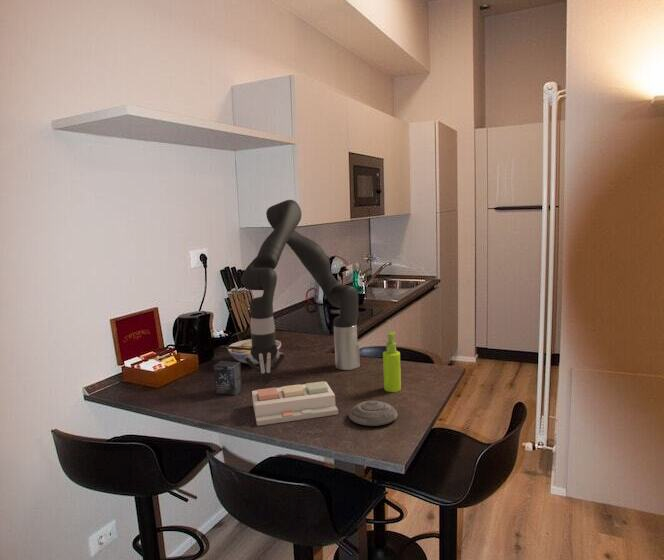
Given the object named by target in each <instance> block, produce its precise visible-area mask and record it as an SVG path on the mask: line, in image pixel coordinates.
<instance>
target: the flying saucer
mask: <svg viewBox="0 0 664 560" xmlns="http://www.w3.org/2000/svg"><path fill="white" fill-rule="evenodd" d="M347 416H348V419H349V420H350V421H352V422H353V423H355V424H358V425H362V426H369V427H373V426H374V427H375V426H376V427H377V426H383V425H388V424H390V423H392V422H393V421H395V420H396V419H397V418H398V416H399V415H398V412H397V410H396V408H394V406H392V405H391V404H389V403H387V402H384V401H380V400H366V401H362V402H359V403H357V404H355V405H354V406H353V407H352V408H351V409H350V410H349V412H348V415H347Z"/></svg>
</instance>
